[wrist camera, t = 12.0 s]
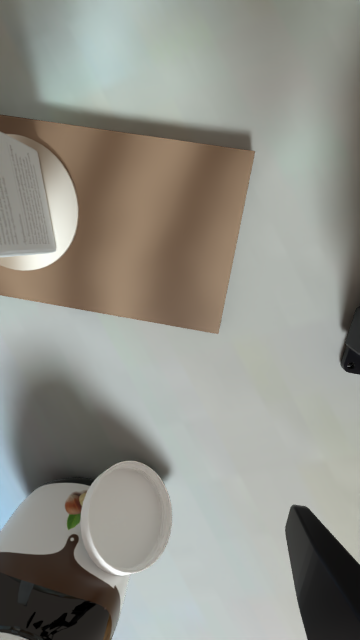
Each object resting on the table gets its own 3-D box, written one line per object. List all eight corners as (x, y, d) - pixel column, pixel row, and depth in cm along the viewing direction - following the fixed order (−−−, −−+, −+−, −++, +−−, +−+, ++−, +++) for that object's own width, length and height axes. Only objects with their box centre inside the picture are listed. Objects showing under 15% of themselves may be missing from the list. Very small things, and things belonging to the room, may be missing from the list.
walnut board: (252, 157, 17) (255, 149, 16) (217, 328, 20) (218, 335, 19) (-29, 116, 18) (-50, 105, 17) (-24, 286, 21) (-41, 289, 20)
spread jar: (28, 523, 27) (-100, 723, 16) (46, 423, 24) (-97, 582, 13) (151, 563, 27) (110, 794, 15) (185, 467, 24) (164, 667, 12)
